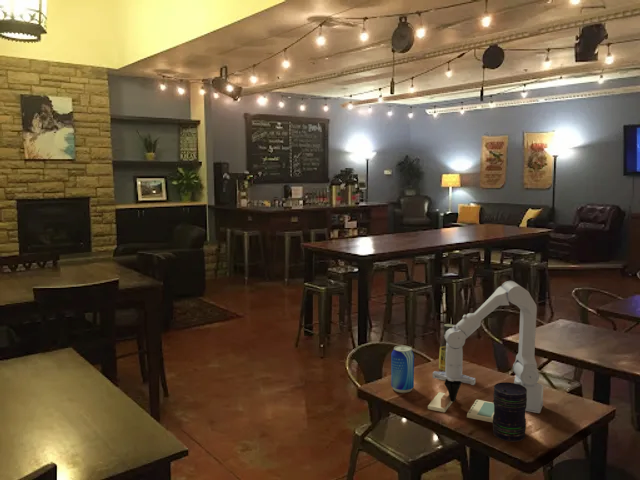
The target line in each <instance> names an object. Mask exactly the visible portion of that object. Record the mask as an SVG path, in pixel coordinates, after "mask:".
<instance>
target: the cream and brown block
mask: <svg viewBox="0 0 640 480" xmlns="http://www.w3.org/2000/svg"><path fill="white" fill-rule="evenodd" d="M452 404H453V402H452V401H451V400H450V395H449V392H448V390H446V392H440V391H438V393H437V395H435V396H434V397H433V398H432V400H431V401H430V403H429V404H428V405H427V410H431V411H436V412H441V413H446V412H447V410H448V409H449V408H450V406H451V405H452Z"/></svg>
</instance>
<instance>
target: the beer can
mask: <svg viewBox="0 0 640 480" xmlns="http://www.w3.org/2000/svg"><path fill="white" fill-rule="evenodd" d="M390 357H391V360H390V361H391V363H390V364H391V365H390V366H391V367H390V368H391V370H390V372H391V373H390V374H391V376H390V386H391V388H392V389H393V391H395V392H396V393H402V394H405V393H410V392H411V391H412V390H413V389H414V387H415V354H414V351H413V350H412V347H410V346H409V345H396V346H394V347H393V350H392V352H391V356H390Z"/></svg>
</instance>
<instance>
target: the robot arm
mask: <svg viewBox="0 0 640 480" xmlns="http://www.w3.org/2000/svg"><path fill="white" fill-rule="evenodd" d="M509 302H510V303H511V304H513V305H514V306H517V307H518V308H519V310H520V312H519V332H518V353H517V354H516V356H515V361H514V362H513V365H512V371H513V373H514V374H515V377H514V381H513V383H516V384H519V385H522V386H524V387H525V388H526V389H527V403H526V404H527V406H526V409H525V412H529V413H535V414H540V413H541V412H542V408H543V406H544V385H543V384H542V383H538V382H539V379H540V373H539V371H538V369H537V368H538V363H537V360H536V357H535V350H536V349H535V347H536V332H537V331H536V330H537V326H536V325H537V311H538V308H537V304H536V302H535V300H534V299H533V297H532V296H531V294H530V291H528V290H527V289H526V288H524V287H523V286H521V285H520V284H519V283H517V282H515V280H514V281H513V280H507V281H505V282H503V283H502V284H501V285H500V286H498V287H497V288H496V289H495V290H494V292H492V294H491V295H490V296H489V297H488V299H486V300H485V302H483V303H482V304H481V305H480V307H478V308H477V309H476V310H475V311H474V312H473V313H472V312H469V313H467V314H463V316H462V318H461V320H459V321H458V322H457V323H456V324H452V325H453V326H452V327H453V328H450V329H448V330H447V331H446V334H445V335H444V334H443V336H444V338H445V340H446V341H447V342H446V365H445V372H439V370H438V371H436V370H434V371H433V372H432V379H437V378H440V379H445V380H446V381H445V380H444V385H445V387H446V389H447V390H448V392H449V395H450V400H451V401H452V403H453V402H454V403H455V402H456V400H457V396H458V393H459V390H460V387H461V386H462V383H464V384H468V385H469V384H470V385H471V386H475V385H476V377H472V376H469V375H466V374H463V355H464V354H463V353H464V351H463V346H464V345H465V343H466V339H468V338H469V337H470V336H471V335H472V334H474V332H475V331H477V329H479V328H480V327H481V326H482V323H481V322H482V320H483V319H485V318H486V317H488V315H490V314H491V313H492V312H494V310H496V309H497V308H499V306H510V303H509ZM447 390H446V391H447Z"/></svg>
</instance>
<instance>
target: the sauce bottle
mask: <svg viewBox="0 0 640 480" xmlns="http://www.w3.org/2000/svg"><path fill="white" fill-rule="evenodd" d="M453 325H454V324H451V323H445V324H443V335H442V337H441V339H440V340H439V341H440V342H439V343H440V344H439V345H440V346H439V357H438V361H439V362H438V372H445V365H446V342H447V341H446V340H445V338H444V335H445V334H446V331H447V330H448V329H450V328H453V327H452V326H453Z"/></svg>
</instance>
